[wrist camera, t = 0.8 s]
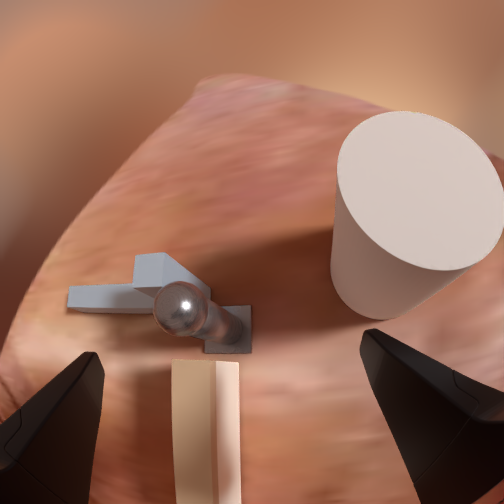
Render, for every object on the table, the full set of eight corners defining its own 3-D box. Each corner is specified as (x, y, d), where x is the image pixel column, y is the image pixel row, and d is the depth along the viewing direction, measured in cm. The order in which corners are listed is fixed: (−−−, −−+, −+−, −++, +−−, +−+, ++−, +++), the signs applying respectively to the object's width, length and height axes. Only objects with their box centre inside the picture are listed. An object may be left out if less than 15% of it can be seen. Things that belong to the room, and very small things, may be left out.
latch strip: (210, 312, 23) (161, 286, 16) (83, 312, 26) (22, 290, 19) (210, 287, 24) (164, 252, 17) (85, 292, 27) (26, 266, 19)
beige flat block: (212, 362, 21) (171, 358, 15) (241, 362, 21) (209, 360, 15) (216, 512, 17) (182, 550, 11) (244, 515, 16) (217, 558, 10)
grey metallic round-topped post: (252, 353, 22) (203, 342, 12) (206, 353, 22) (133, 340, 13) (251, 305, 23) (205, 263, 14) (206, 307, 24) (138, 268, 14)
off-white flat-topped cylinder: (446, 266, 21) (524, 186, 10) (383, 342, 20) (449, 315, 9) (375, 201, 24) (401, 90, 13) (308, 267, 23) (296, 175, 12)
